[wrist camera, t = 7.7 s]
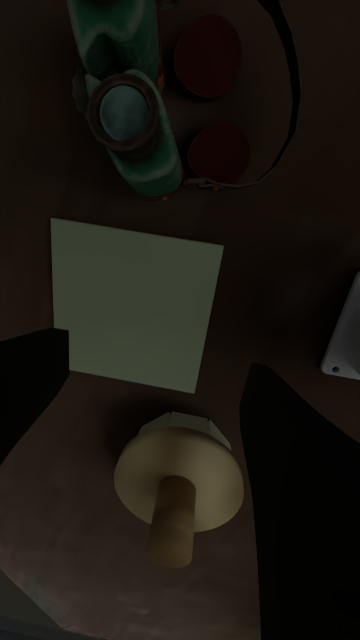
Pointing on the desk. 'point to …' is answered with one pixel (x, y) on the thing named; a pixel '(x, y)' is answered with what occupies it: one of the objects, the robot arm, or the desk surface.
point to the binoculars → (147, 86)
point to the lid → (178, 488)
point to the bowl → (186, 425)
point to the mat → (133, 302)
